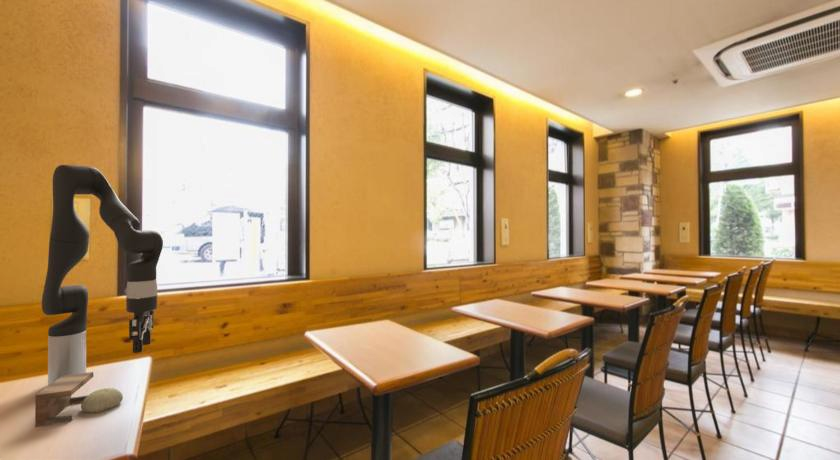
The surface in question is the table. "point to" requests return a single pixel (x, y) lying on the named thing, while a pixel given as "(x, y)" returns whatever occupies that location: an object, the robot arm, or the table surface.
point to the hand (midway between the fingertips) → (142, 348)
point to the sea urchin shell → (101, 400)
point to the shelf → (58, 398)
